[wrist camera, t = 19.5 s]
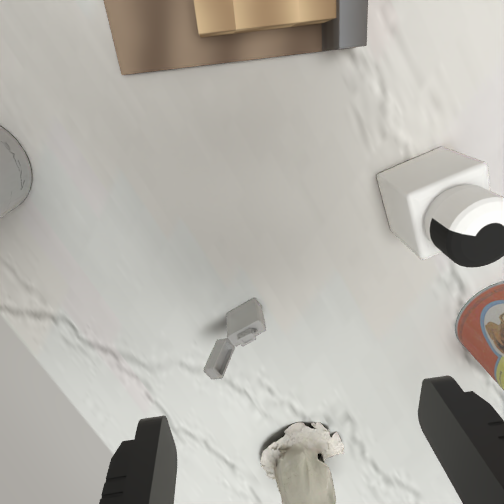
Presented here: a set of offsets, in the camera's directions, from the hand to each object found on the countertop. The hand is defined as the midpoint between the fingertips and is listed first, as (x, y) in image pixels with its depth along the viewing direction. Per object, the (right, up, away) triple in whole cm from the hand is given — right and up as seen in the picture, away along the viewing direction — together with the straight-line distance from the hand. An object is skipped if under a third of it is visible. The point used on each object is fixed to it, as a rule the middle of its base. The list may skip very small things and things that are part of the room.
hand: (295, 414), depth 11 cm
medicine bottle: (+16, +12, +28) cm, 34 cm away
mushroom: (+6, -25, +46) cm, 53 cm away
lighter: (-4, -3, +33) cm, 33 cm away
